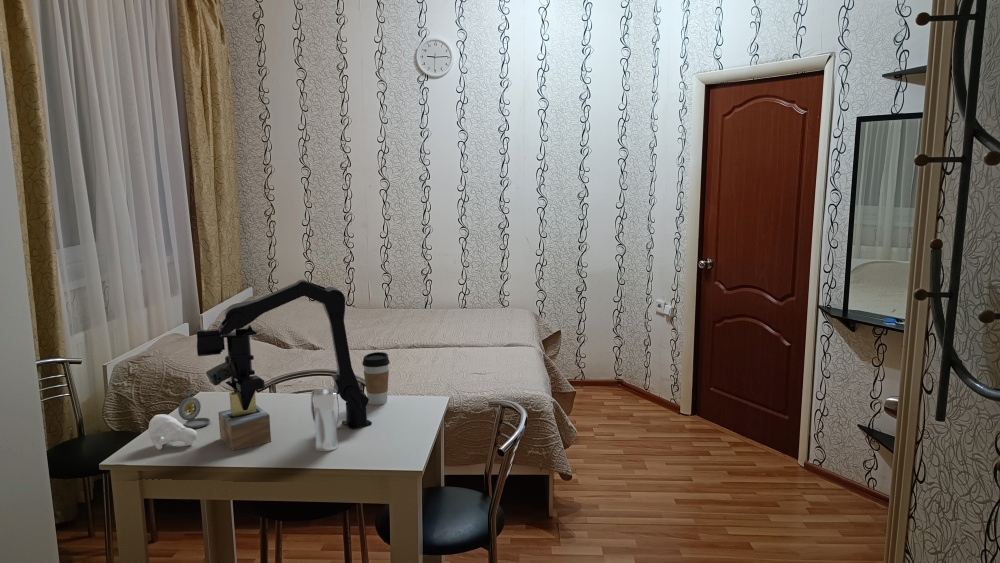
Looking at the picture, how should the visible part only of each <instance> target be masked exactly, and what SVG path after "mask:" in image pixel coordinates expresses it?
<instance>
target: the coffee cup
mask: <svg viewBox="0 0 1000 563" xmlns="http://www.w3.org/2000/svg"><path fill="white" fill-rule="evenodd" d="M361 363H362V364H361V366H363V376H364V384H365V390H366V396H367V397H368V399H369V401H368V405H371V404H372V406H379V405H385V404H387V403H388V391H389V378H390V377H389V373H390V371H389V370H390V369H389V364H390V359H389V354H388V353H386V352H385V351H384V352H382V351H378V352H377V351H376V352H374V351H373V352H371V353H367V354H366V355H364V356H363V360H362V362H361Z"/></svg>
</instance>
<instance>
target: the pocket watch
mask: <svg viewBox="0 0 1000 563" xmlns="http://www.w3.org/2000/svg"><path fill="white" fill-rule="evenodd" d="M186 391H187V393H186ZM189 391H190V392H189ZM192 393H193V390H192V389H191V388H187V389H186V390H184V391H183V394H184V395H186V396H187V397H186V398H184V399H183V400H181V402H180V404H179V406H178V411H177V412H178V415H179V417H180V418H181V419H182V420H184V421H185V423H184V424H185V425H184V426H185V427H186V428H190V429H193V428H195V429H197V428H202V427H205V426H207V425H209V424H210V423H211V419H210V418H208V417H197V416H199V414H200V412H201V406H202V405H201V402H200V400H199V399H198V398H196V397H195V396H191V395H192ZM188 413H189V414H188Z"/></svg>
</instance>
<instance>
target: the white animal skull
mask: <svg viewBox="0 0 1000 563" xmlns="http://www.w3.org/2000/svg"><path fill="white" fill-rule="evenodd" d="M147 432H148V436H149V439H150V440H151V442H152V444H153V445H154V447H155V448H156V449H157V450H159V451H160V450H161V449H162V448H163V445H166V444H169V443H170V442H171V443H174V442H175V443H176V442H183V443H184V446H185V447H188V446H193V444H194V442H195V441H197V439H198V433H197V431H196V430H195V429H193V428H190V427H186V425H183V424H182V422H180V421H178V420H177V418H175V417H173V416H172V415H169V414H167V413H166V414H164V413H163V414H162V413H160V414H155V415H154V416H153V417H152V418H151V419H150V421H149V423H148V430H147Z"/></svg>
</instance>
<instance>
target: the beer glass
mask: <svg viewBox="0 0 1000 563" xmlns="http://www.w3.org/2000/svg"><path fill="white" fill-rule="evenodd" d="M310 395H311V396H310V412H311V413H310V414H311V417H312V423H313V426H314V430H315V442H314V443H315V444H314V445H315V446H314V449H315V450H316V451H317V452H330V451H335V450H336V449H338V448H339V446H340V444H339V443H340V442H339V439H338V434H337V433H338V430H337V429H338V422H339V413H340V412H339V411H340V409H339V407H340V406H339V397H338V394H337V390H336V389H334V388H333V387H332V388H331V387H327V388H326V387H325V388H324V387H323V388H318V389H315V390H312V391H311V392H310Z"/></svg>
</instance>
